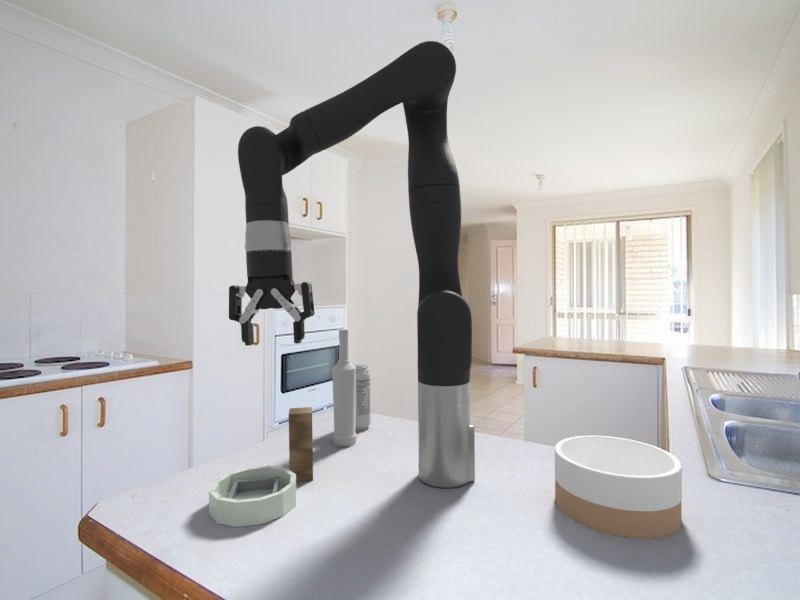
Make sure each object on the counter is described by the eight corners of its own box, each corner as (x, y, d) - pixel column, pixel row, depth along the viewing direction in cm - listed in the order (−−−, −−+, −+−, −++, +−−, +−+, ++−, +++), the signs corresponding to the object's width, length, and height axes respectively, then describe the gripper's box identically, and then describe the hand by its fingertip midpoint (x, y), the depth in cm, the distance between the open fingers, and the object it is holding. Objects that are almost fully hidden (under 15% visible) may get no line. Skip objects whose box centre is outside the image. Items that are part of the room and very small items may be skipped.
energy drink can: (359, 422, 111) (358, 363, 110) (375, 427, 106) (375, 366, 106) (340, 427, 106) (340, 366, 106) (357, 433, 102) (356, 369, 102)
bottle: (352, 447, 93) (351, 330, 92) (329, 446, 94) (328, 330, 93) (359, 439, 98) (358, 328, 97) (337, 438, 99) (336, 328, 98)
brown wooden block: (313, 471, 81) (312, 406, 80) (313, 480, 77) (312, 412, 76) (290, 473, 80) (289, 408, 80) (289, 482, 76) (288, 414, 76)
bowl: (697, 509, 65) (698, 454, 65) (656, 556, 54) (656, 490, 54) (585, 474, 78) (585, 428, 78) (533, 506, 67) (533, 452, 67)
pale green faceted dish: (297, 483, 75) (297, 463, 75) (294, 520, 63) (294, 496, 63) (220, 490, 73) (219, 470, 73) (201, 531, 61) (201, 506, 61)
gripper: (315, 250, 78) (319, 340, 78) (237, 254, 79) (242, 343, 79) (303, 245, 71) (308, 345, 71) (218, 250, 71) (223, 348, 72)
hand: (273, 344), depth 75 cm, fingers open, 8 cm apart
